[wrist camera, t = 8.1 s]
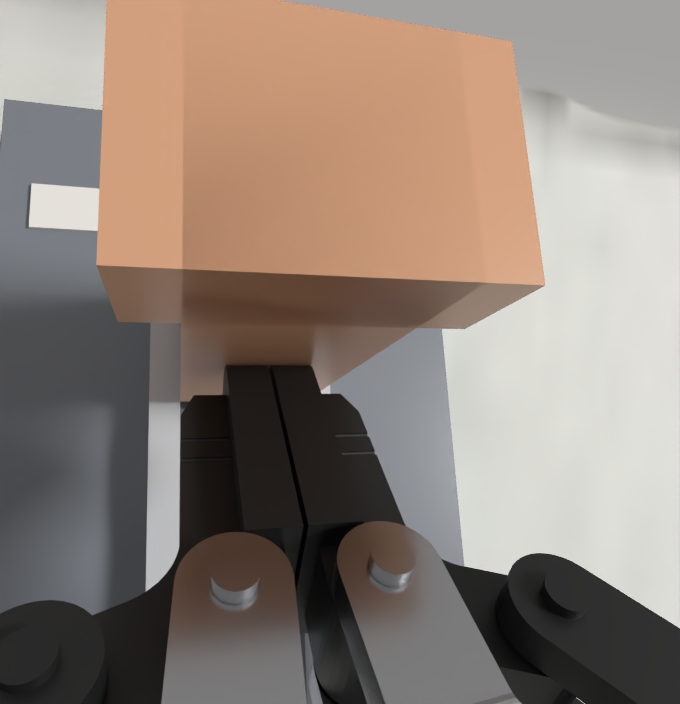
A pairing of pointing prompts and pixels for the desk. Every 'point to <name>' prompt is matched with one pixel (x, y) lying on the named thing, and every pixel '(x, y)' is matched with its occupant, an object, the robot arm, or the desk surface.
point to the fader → (307, 182)
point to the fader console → (140, 395)
